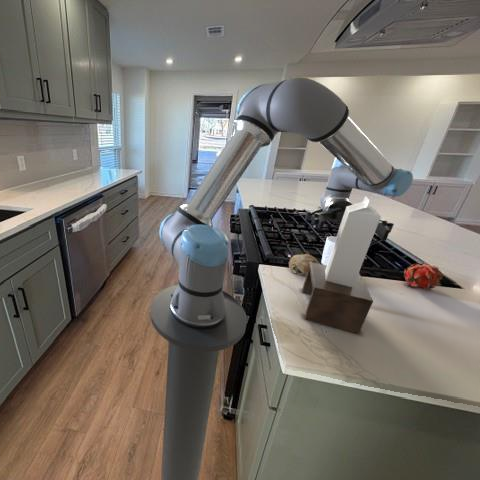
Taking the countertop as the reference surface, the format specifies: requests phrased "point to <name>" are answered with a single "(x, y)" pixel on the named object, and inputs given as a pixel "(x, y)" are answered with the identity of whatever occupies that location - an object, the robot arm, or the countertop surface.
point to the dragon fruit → (423, 276)
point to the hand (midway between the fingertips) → (352, 230)
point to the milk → (352, 243)
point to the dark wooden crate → (336, 301)
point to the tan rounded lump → (301, 263)
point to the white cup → (328, 249)
